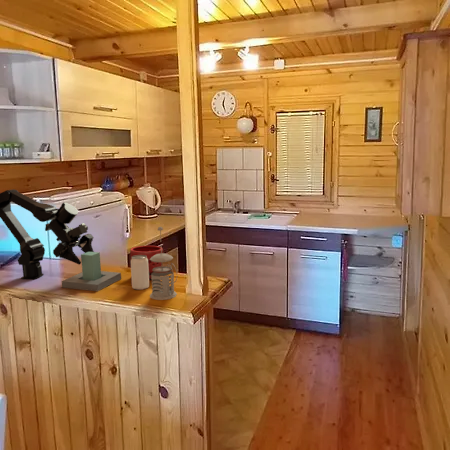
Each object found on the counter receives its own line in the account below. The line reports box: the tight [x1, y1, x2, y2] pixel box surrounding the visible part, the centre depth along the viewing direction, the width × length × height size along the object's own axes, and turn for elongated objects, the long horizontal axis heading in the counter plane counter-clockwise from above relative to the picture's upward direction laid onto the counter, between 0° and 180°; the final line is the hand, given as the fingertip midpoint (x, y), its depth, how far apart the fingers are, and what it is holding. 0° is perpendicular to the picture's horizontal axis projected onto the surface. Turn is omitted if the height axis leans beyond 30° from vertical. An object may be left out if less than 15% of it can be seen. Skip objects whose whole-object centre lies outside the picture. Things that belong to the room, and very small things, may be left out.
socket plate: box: [61, 270, 122, 292], centre depth 174 cm, size 16×16×2 cm
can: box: [130, 255, 150, 291], centre depth 167 cm, size 6×6×12 cm
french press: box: [149, 226, 178, 301], centre depth 156 cm, size 10×12×25 cm
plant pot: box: [129, 245, 164, 280], centre depth 181 cm, size 13×13×12 cm
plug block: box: [80, 251, 102, 281], centre depth 173 cm, size 5×5×12 cm
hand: (87, 260), depth 173 cm, fingers open, 9 cm apart
